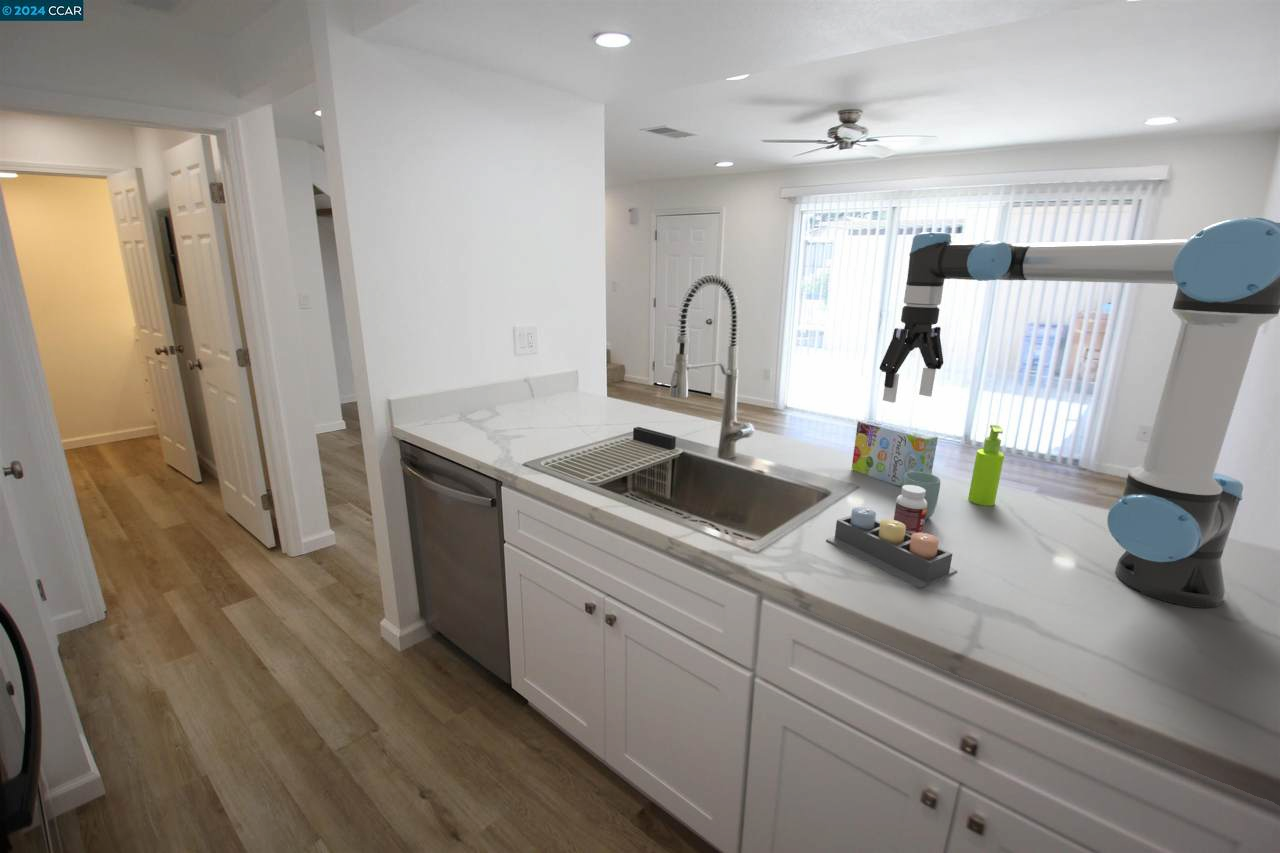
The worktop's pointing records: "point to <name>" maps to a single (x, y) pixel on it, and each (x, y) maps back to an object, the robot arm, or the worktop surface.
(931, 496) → the cup
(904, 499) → the pill bottle
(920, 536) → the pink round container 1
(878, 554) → the grey compartment tray
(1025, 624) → the worktop surface
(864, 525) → the light blue block
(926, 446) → the snack box
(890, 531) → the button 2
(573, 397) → the worktop surface
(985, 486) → the soap dispenser
